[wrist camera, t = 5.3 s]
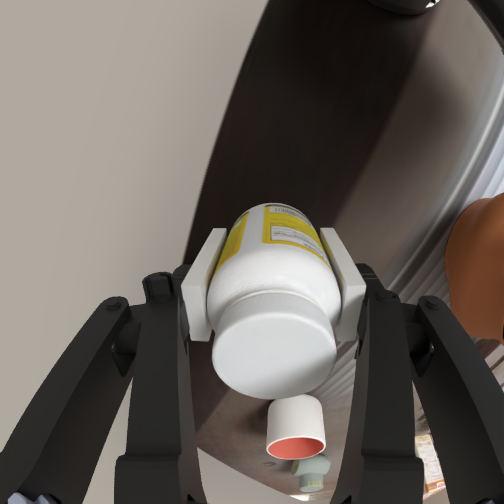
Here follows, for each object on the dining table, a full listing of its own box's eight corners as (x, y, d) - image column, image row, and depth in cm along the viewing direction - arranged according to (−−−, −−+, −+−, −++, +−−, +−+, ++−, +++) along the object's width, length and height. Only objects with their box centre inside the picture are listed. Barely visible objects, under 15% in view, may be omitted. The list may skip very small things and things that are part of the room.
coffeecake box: (401, 457, 60) (412, 506, 42) (384, 460, 60) (394, 511, 42) (430, 433, 54) (446, 487, 36) (413, 436, 54) (428, 493, 36)
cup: (321, 415, 49) (325, 456, 39) (272, 420, 50) (270, 461, 41) (320, 386, 45) (325, 432, 36) (264, 393, 46) (261, 439, 37)
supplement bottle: (245, 291, 19) (224, 417, 10) (216, 216, 17) (156, 313, 8) (325, 271, 18) (363, 393, 9) (305, 189, 16) (346, 266, 7)
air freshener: (301, 449, 55) (302, 483, 46) (332, 449, 55) (335, 482, 46) (289, 464, 60) (289, 494, 51) (317, 464, 60) (319, 494, 51)
